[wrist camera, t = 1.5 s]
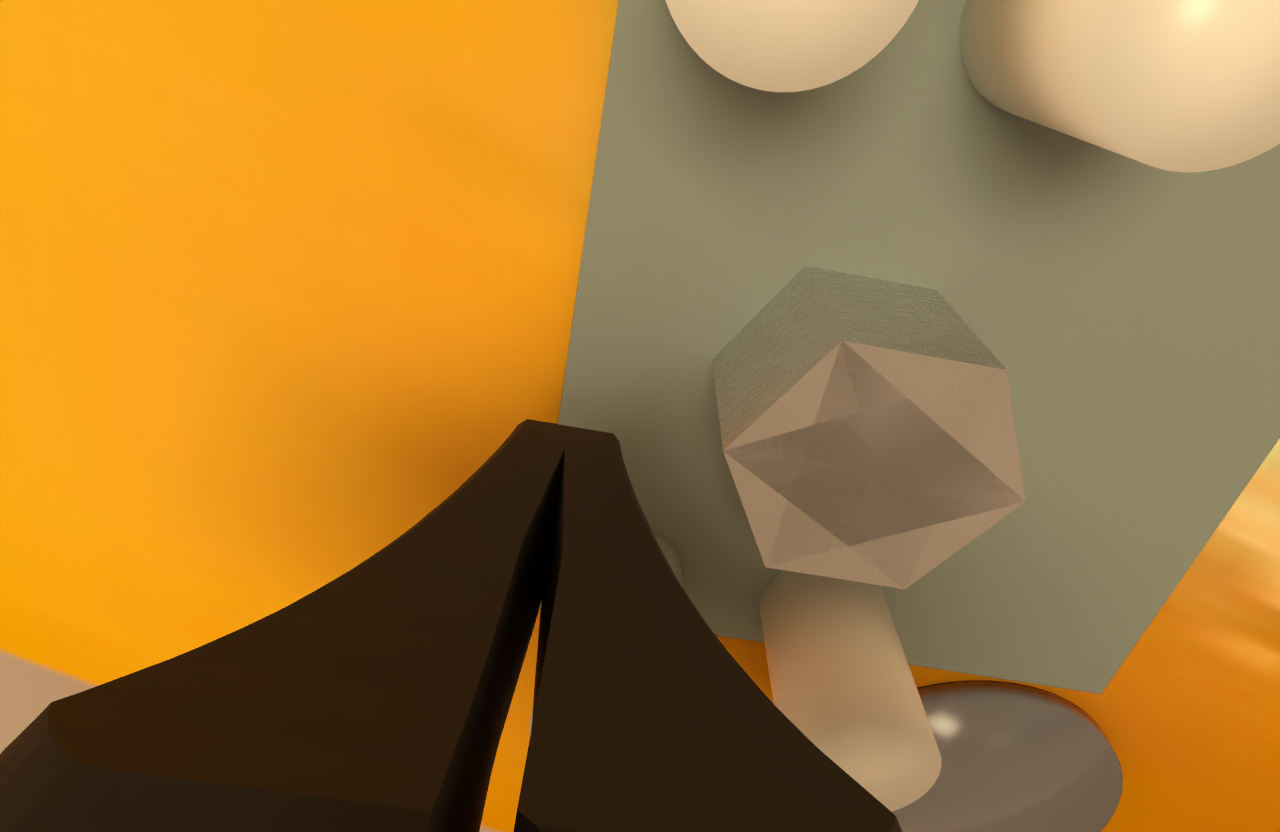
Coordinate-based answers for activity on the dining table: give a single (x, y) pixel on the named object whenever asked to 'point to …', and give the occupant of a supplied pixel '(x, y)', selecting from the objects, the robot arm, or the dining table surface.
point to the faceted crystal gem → (865, 429)
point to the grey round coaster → (1014, 763)
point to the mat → (977, 291)
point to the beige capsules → (1045, 94)
